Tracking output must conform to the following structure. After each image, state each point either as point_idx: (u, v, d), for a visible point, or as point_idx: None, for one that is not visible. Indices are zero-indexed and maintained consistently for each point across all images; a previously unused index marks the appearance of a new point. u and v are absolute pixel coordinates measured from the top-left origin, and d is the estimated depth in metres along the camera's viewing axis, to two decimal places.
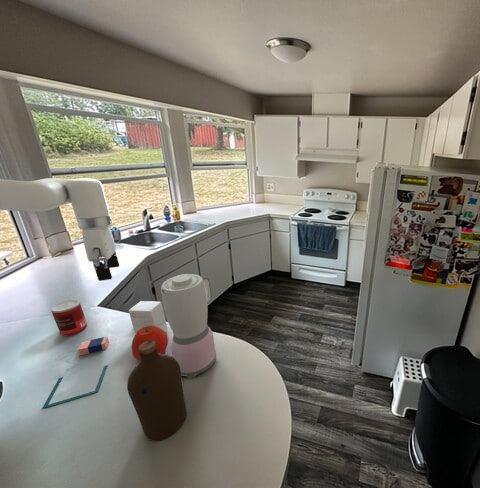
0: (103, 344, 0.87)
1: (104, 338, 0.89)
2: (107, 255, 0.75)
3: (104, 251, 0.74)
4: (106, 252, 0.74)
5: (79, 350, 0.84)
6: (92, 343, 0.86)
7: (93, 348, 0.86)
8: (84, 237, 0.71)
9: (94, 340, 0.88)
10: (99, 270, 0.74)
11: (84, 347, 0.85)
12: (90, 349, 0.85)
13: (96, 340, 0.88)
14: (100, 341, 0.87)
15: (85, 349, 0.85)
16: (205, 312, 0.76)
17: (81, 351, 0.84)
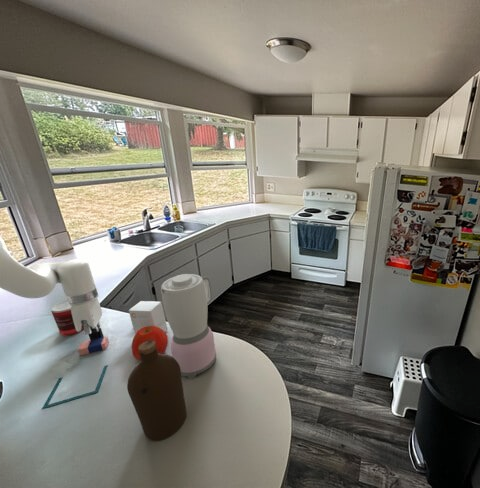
0: (103, 344, 0.87)
1: (104, 338, 0.89)
2: (93, 325, 0.85)
3: (91, 322, 0.84)
4: (92, 322, 0.84)
5: (79, 350, 0.84)
6: (92, 343, 0.86)
7: (93, 348, 0.86)
8: (72, 312, 0.81)
9: (94, 340, 0.88)
10: (91, 334, 0.88)
11: (84, 347, 0.85)
12: (90, 349, 0.85)
13: (96, 340, 0.88)
14: (100, 341, 0.87)
15: (85, 349, 0.85)
16: (205, 312, 0.76)
17: (81, 351, 0.84)
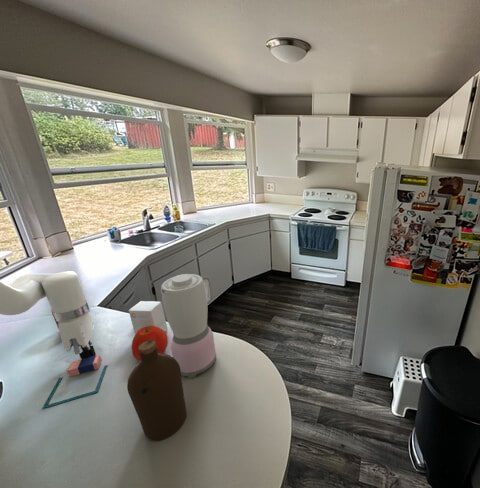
0: (95, 364, 0.79)
1: (96, 356, 0.81)
2: (84, 343, 0.77)
3: (81, 341, 0.76)
4: (83, 341, 0.76)
5: (68, 371, 0.76)
6: (83, 363, 0.79)
7: (84, 369, 0.78)
8: (60, 330, 0.73)
9: (85, 359, 0.80)
10: (82, 352, 0.80)
11: (74, 367, 0.77)
12: (81, 369, 0.77)
13: (87, 359, 0.80)
14: (91, 360, 0.79)
15: (75, 370, 0.77)
16: (205, 312, 0.76)
17: (70, 372, 0.76)
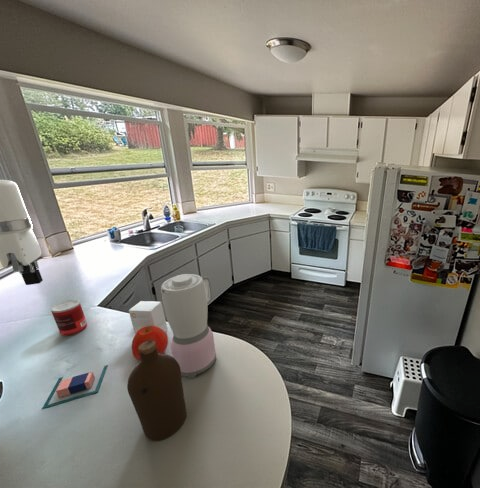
0: (87, 382, 0.72)
1: (89, 374, 0.75)
2: (24, 261, 0.70)
3: (20, 257, 0.69)
4: (23, 258, 0.70)
5: (57, 391, 0.70)
6: (74, 381, 0.72)
7: (75, 388, 0.71)
8: None
9: (76, 377, 0.74)
10: (25, 274, 0.74)
11: (64, 387, 0.70)
12: (72, 389, 0.71)
13: (79, 377, 0.74)
14: (83, 379, 0.73)
15: (65, 390, 0.70)
16: (205, 312, 0.76)
17: (60, 392, 0.70)
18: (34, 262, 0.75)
